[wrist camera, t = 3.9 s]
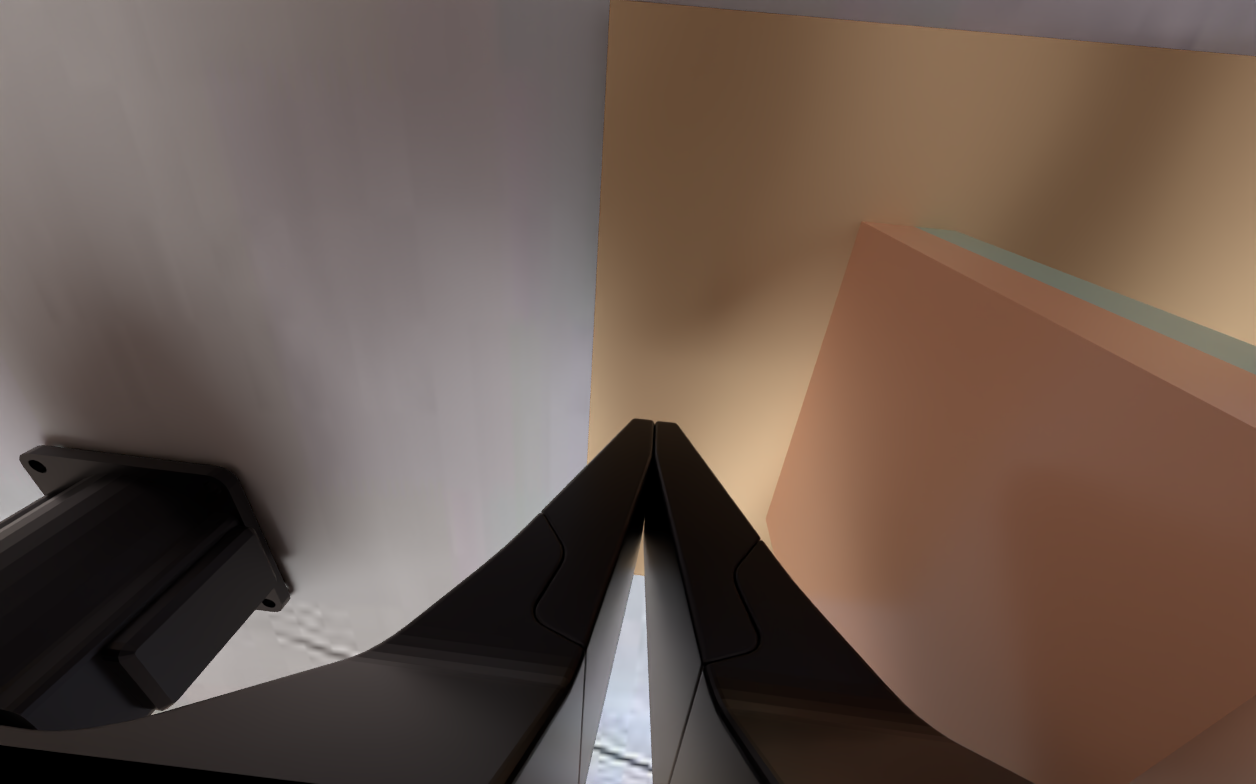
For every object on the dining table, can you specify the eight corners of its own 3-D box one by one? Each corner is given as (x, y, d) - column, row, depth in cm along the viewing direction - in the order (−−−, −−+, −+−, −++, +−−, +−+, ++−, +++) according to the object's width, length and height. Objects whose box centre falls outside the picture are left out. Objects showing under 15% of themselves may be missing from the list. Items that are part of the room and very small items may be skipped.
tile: (765, 519, 13) (868, 962, 6) (861, 221, 9) (1472, 540, 2) (830, 527, 13) (1007, 982, 6) (955, 230, 9) (1899, 592, 2)
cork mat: (584, 557, 15) (581, 568, 15) (612, 4, 8) (609, -1, 8) (1089, 621, 15) (1099, 632, 14) (1595, 91, 8) (1640, 90, 7)
